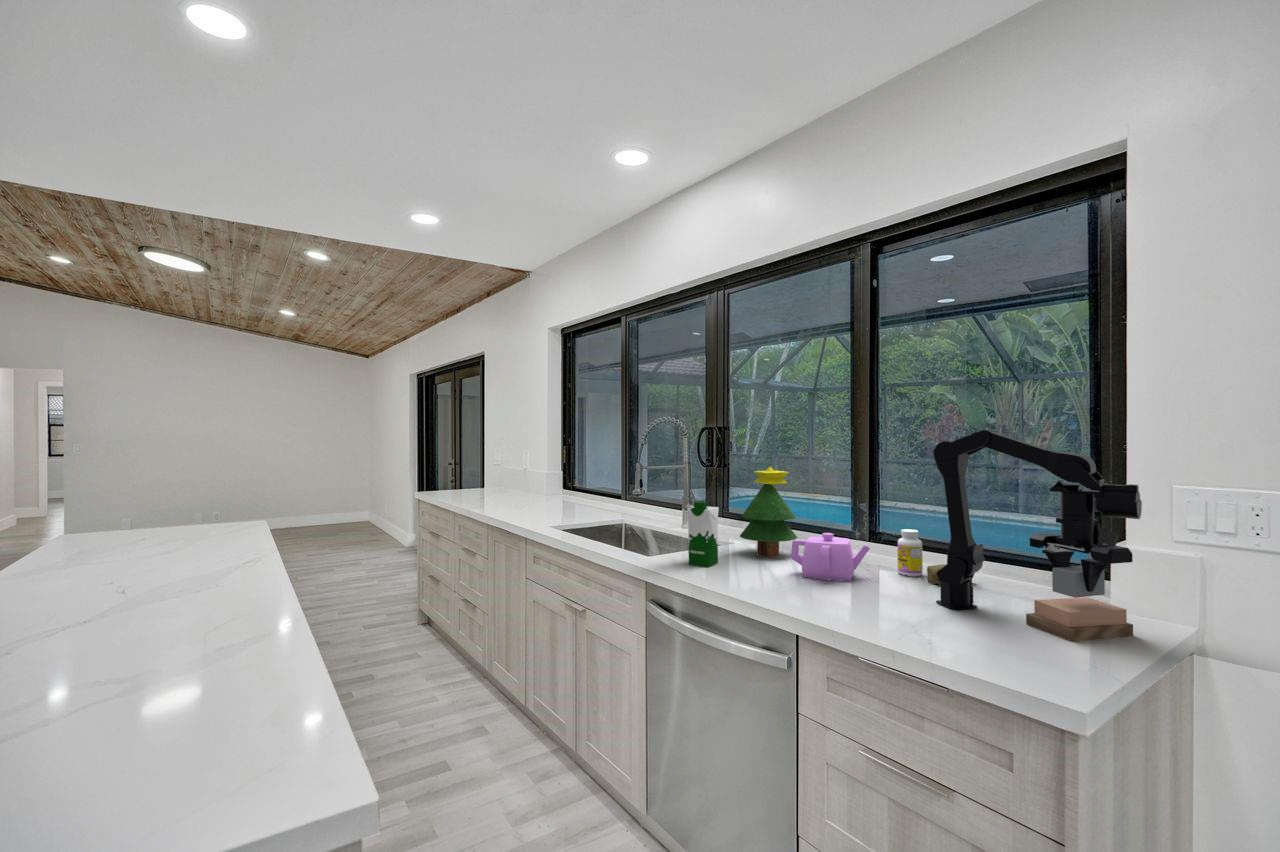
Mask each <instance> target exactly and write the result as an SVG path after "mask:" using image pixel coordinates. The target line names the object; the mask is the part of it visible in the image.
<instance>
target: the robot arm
mask: <svg viewBox="0 0 1280 852" xmlns="http://www.w3.org/2000/svg"><path fill="white" fill-rule="evenodd" d="M986 448H988V449H990V450H994V451H996V452H999V453H1002V454H1005V455H1008V456H1011V457H1013V458H1016V459H1019V460H1022V461H1025V462H1029V463H1031V464H1034V465H1037V466H1039V467H1040V468H1042V469H1044V470H1046V471H1048V472H1049V473H1050V474H1052V475H1054V476H1056V477H1058V478H1060V479H1061V480H1057V481H1056V483H1054V484H1053V486H1051V487H1050V488H1048V491H1049V492H1056V493H1060V517H1056V518H1055V523H1056V524H1060V534H1057V533H1053V532H1052V533H1051V532H1044V533H1042V532H1039V533H1032V534H1031V536H1030V537H1029V546H1030V547H1032V548H1037V549H1041V552H1042V554H1045V556H1046V557H1047V559H1048V560H1049V563H1051V566H1053V567H1052V568H1057V567H1068V566H1071V560H1072V559H1071V558H1072V557H1073V555H1074V553H1075V552H1078V553H1083V554H1087V555H1088V558H1081V559H1080V564H1081V565H1082V569H1083V575H1084V580H1085V585H1086V588H1087V591H1088V592H1093V590H1094V588H1095V586H1096V584H1097V582H1098V579H1099V577H1100V575H1101V573H1102V572H1103V570H1104V571H1105V569H1106V568H1107V567H1109V565H1110V564H1126V563H1133V552H1132V551H1131V549H1130V548H1128V547H1125V546H1120V545H1117V542H1118V539H1119V534H1118V533H1116V532H1114V531H1111V530H1108V529H1106V528H1103V527H1102V526H1101V522H1100V520H1099V519H1095V508H1096V511H1098V513H1102V515H1103V516H1104V517H1106V518H1107V517H1109V518H1119V519H1122V518H1123V519H1130V520H1132V519H1133V520H1140V519H1141V516H1142V509H1143V508H1142V507H1143V504H1142V502H1143V501H1142V500H1141V494H1140V490H1139V489H1140V488H1139V485H1138V484H1132V483H1130V484H1124V485H1123V484H1109V483H1108V482H1107V481H1106V480H1105V478H1103V477H1102V475H1101V474H1100V473H1099V471H1097V466H1096V463H1095V461H1094V459H1092V457H1090V456H1088V455H1086V454H1081V453H1075V452H1071V451H1070V452H1067V451H1061V450H1053V449H1048V448H1045V447H1042V446H1039V445H1036V444H1033V443H1030V442H1026V441H1023V440H1022V439H1021V440H1020V439H1017V438H1014V437H1012V436H1011V437H1010V436H1008V435H1005V434H1003V433H998V432H995V431H994V430H993V429H988V428H987V429H985V428H984V429H979V430H977V431H976V432H974V433H972V434H969V435H966V436H964V437H961V438H958V439H956V440H948V441H947V440H945V441H941V442H939V443H937V444H936V445H935V447H934V448H933V450H932V451H933V452H932V453H933V454H932V455H933V459H934V461H935V465H936V468H937V470H938V471H939V473H940V475H941V477H942V479H943V483H944V491H945V500H946V501H945V503H946V507H947V509H946V510H947V515H948V524H949V531H950V532H949V533H950V541H949V544H948V547H947V548H948V549H947V553H946V554H947V555H946V556H947V557H946V559H947V560H946V564H947V565H946V566H944V567H943V568H942V569H940V570H939V571H938V572H937V576H938V579H939V581H940V584H941V585H940V599H937V600H936V601H935V603H936V604H938V605H941V606H943V607H946V608H949V609H951V610H955V611H959V610H969V609H972V610H973V609H978V605H976V604H974V586H973V578H974V576H975V573H977V572H979V571H981V570H982V568H983V565H984V564H983V563H984V562H985V561H986V558H985V556H984V546H983V543H978V544H977V543H976V540H975V539H974V538H973V535H972V527H971V526H972V525H971V519H970V509H969V502H968V495H967V493H968V492H967V487H966V486H967V485H966V479H965V478H966V473H967V469H968V464H969V456H971V455H973V454H976V453H978V452H980V451H982V450H984V449H986ZM1063 480H1064V481H1066V482H1068V483H1071V484H1068V483H1065V482H1064V481H1063ZM1073 483H1074V484H1073ZM1075 483H1077V484H1075ZM1084 487H1085V488H1086V489H1084ZM1095 495H1096V497H1095ZM1095 498H1096V499H1095ZM1042 548H1044V549H1042ZM969 579H972V581H971V580H969Z"/></svg>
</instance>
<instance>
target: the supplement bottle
mask: <svg viewBox="0 0 1280 852" xmlns="http://www.w3.org/2000/svg"><path fill="white" fill-rule="evenodd" d="M900 534H901V538H899V539H897V573H898V574H900V575H901V574H902V576H905V575H907V576H906V577H921V576H922V575H923V542H922V539H921V540H920V538H919V531H918V530H917V529H910V528H909V529H908V528H905V529H900Z"/></svg>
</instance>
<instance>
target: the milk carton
mask: <svg viewBox="0 0 1280 852" xmlns="http://www.w3.org/2000/svg"><path fill="white" fill-rule="evenodd" d="M707 503H708V502H707V501H704V500H696V501H693V506H691V507H687V508H686V510H687V511H686V512H687V518H688V519H687V520H688V521H687V522H688V566H689V565H690V566H696V567H702V568H703V567H704V568H705V567H706V568H710V567H712V566H714V565H717V564H719V551H718V549H719V542H718V541H719V540H718V539H719V537H718V536H719V535H718V534H719V533H718V530H719V529H718V527H719V525H718V524H719V523H718V519H719V509H720V508H719V507H718V506H708V504H707Z"/></svg>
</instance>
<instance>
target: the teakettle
mask: <svg viewBox="0 0 1280 852" xmlns="http://www.w3.org/2000/svg"><path fill="white" fill-rule="evenodd" d="M821 534H822V536H809V537H808V538H807V539H795V540H791V541H792V544H791V551H790V552H791V554H790V559H791V560H792V561H794V562H796V563H797V564H799V565H800V566H801V571H802V572H801V573H802V575H803V578H804V577H808V578H807V579H810V578H816V579H815V580H819V579H830V580H844V581H843V582H851V581H852V580H853V578H854V573H855V571H856V569H857V568H858V566H859V565H860V563H861V562H862V560H863V559H864V557H865V556H866V555H867V553H868V552H869V551H870V549H871V547H870V546H868V545H863V546H862V547H861V548H860V549H859V551H857V552H856V554H854V553H853V547H852V542H851V539H849V538H846V537H834V533H833V532H823V533H821ZM799 546H802V547H803V546H804V548H803V552H802V553H803V554H802V555H801V554H800V553H799V551H800V550H799V548H800V547H799ZM851 579H852V580H851ZM830 580H829V581H830Z"/></svg>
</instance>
